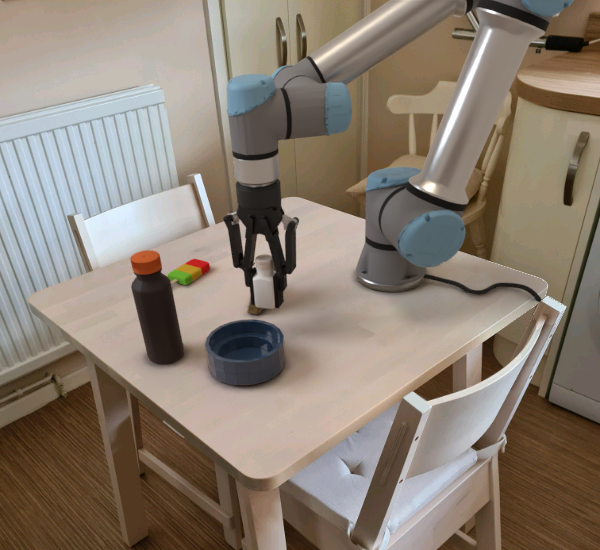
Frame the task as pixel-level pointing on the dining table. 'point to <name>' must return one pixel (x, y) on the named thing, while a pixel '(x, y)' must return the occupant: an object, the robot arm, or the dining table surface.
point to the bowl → (245, 352)
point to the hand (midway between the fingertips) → (267, 302)
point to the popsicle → (189, 272)
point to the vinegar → (156, 308)
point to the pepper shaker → (264, 282)
